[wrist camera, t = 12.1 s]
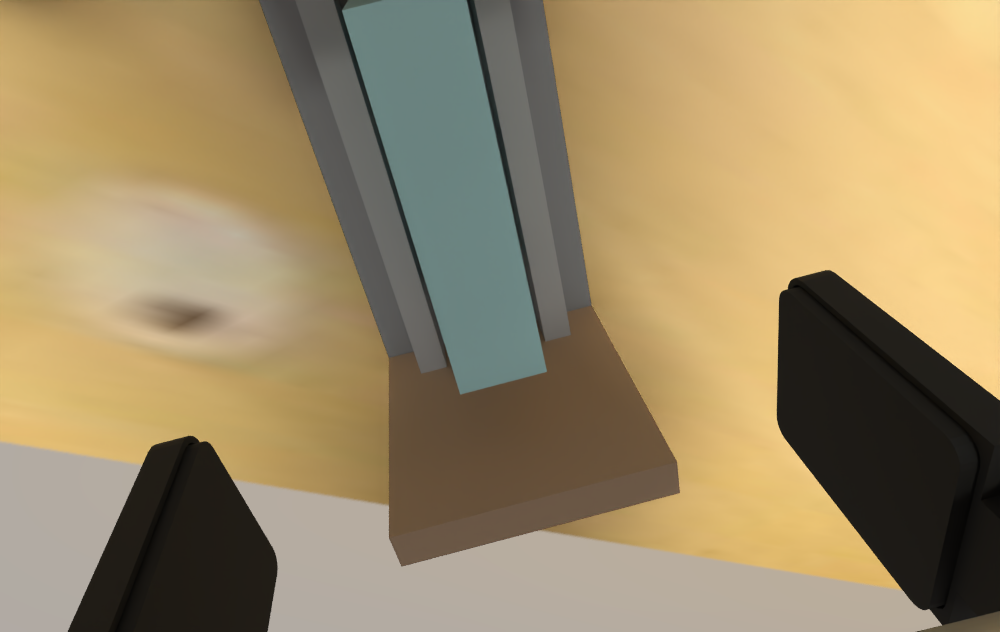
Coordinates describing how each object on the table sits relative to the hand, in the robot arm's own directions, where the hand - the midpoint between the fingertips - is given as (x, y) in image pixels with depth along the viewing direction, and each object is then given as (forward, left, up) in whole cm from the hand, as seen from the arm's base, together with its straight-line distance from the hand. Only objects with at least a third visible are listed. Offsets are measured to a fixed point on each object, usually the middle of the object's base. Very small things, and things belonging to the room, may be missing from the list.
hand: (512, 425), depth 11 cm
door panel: (0, 0, -19) cm, 19 cm away
